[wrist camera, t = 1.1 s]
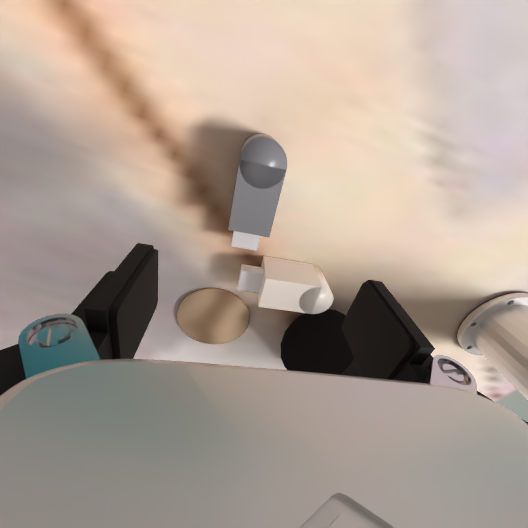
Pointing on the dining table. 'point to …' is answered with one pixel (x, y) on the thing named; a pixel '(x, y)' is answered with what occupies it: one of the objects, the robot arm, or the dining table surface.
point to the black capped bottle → (318, 345)
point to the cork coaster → (213, 316)
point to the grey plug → (256, 190)
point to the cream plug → (287, 285)
